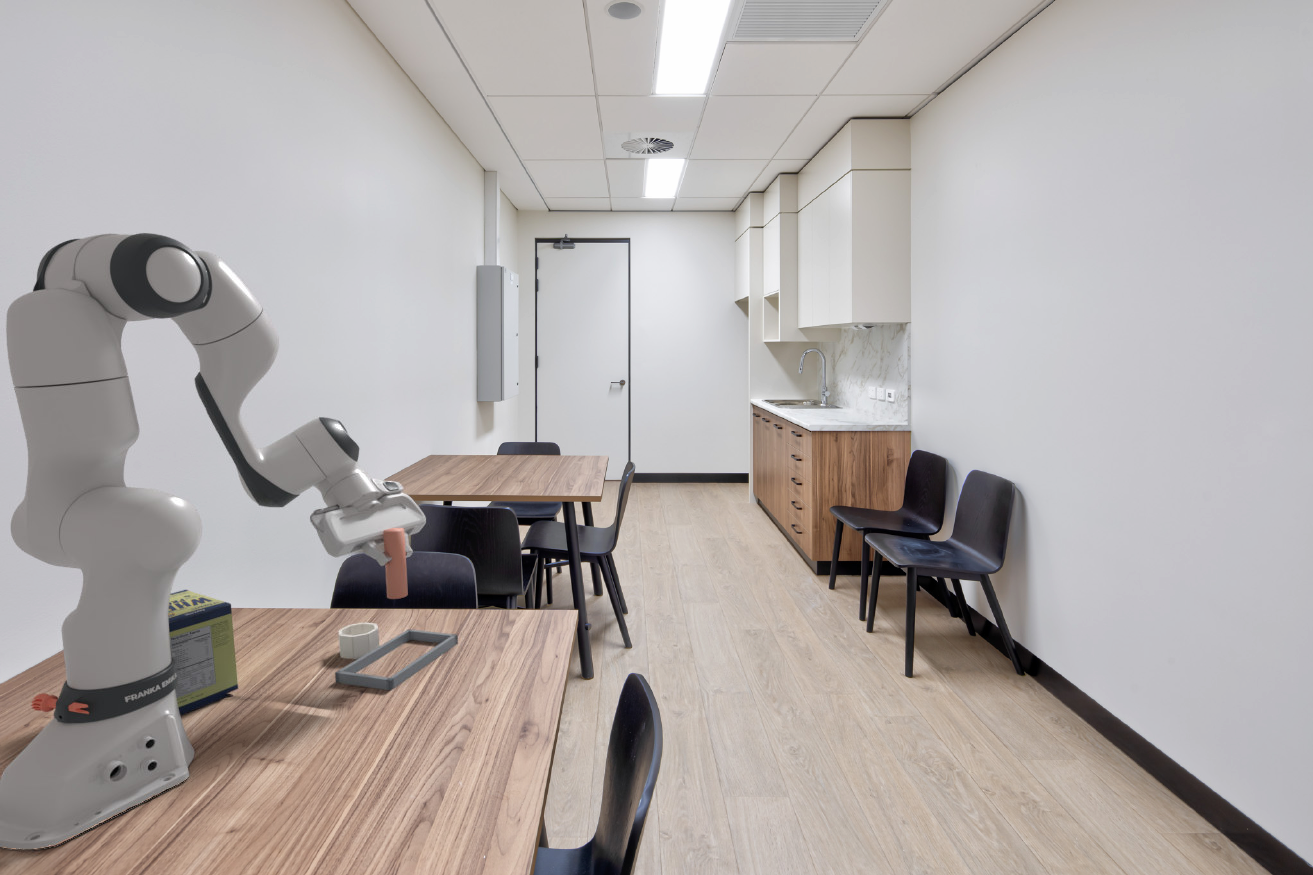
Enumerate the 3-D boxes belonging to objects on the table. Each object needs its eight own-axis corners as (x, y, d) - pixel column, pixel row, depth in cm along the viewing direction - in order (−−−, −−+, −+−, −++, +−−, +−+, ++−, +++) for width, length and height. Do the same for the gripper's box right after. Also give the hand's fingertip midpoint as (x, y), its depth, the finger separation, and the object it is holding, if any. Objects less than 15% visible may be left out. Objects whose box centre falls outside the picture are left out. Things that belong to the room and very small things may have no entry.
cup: (362, 664, 126) (361, 638, 126) (332, 660, 128) (330, 634, 128) (386, 649, 133) (385, 624, 132) (357, 646, 135) (355, 621, 134)
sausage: (399, 599, 122) (395, 533, 121) (382, 597, 123) (378, 532, 122) (411, 593, 126) (408, 528, 124) (395, 591, 127) (391, 527, 125)
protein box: (192, 672, 124) (185, 588, 122) (240, 692, 116) (233, 602, 114) (124, 696, 115) (115, 606, 114) (171, 720, 107) (162, 623, 106)
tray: (391, 694, 115) (390, 680, 114) (335, 686, 118) (335, 672, 118) (458, 647, 134) (457, 634, 133) (409, 641, 137) (408, 629, 137)
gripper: (313, 500, 116) (357, 564, 113) (406, 480, 134) (447, 535, 131) (297, 524, 119) (340, 587, 115) (391, 501, 137) (430, 555, 134)
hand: (398, 559), depth 123 cm, fingers closed on sausage, 3 cm apart
